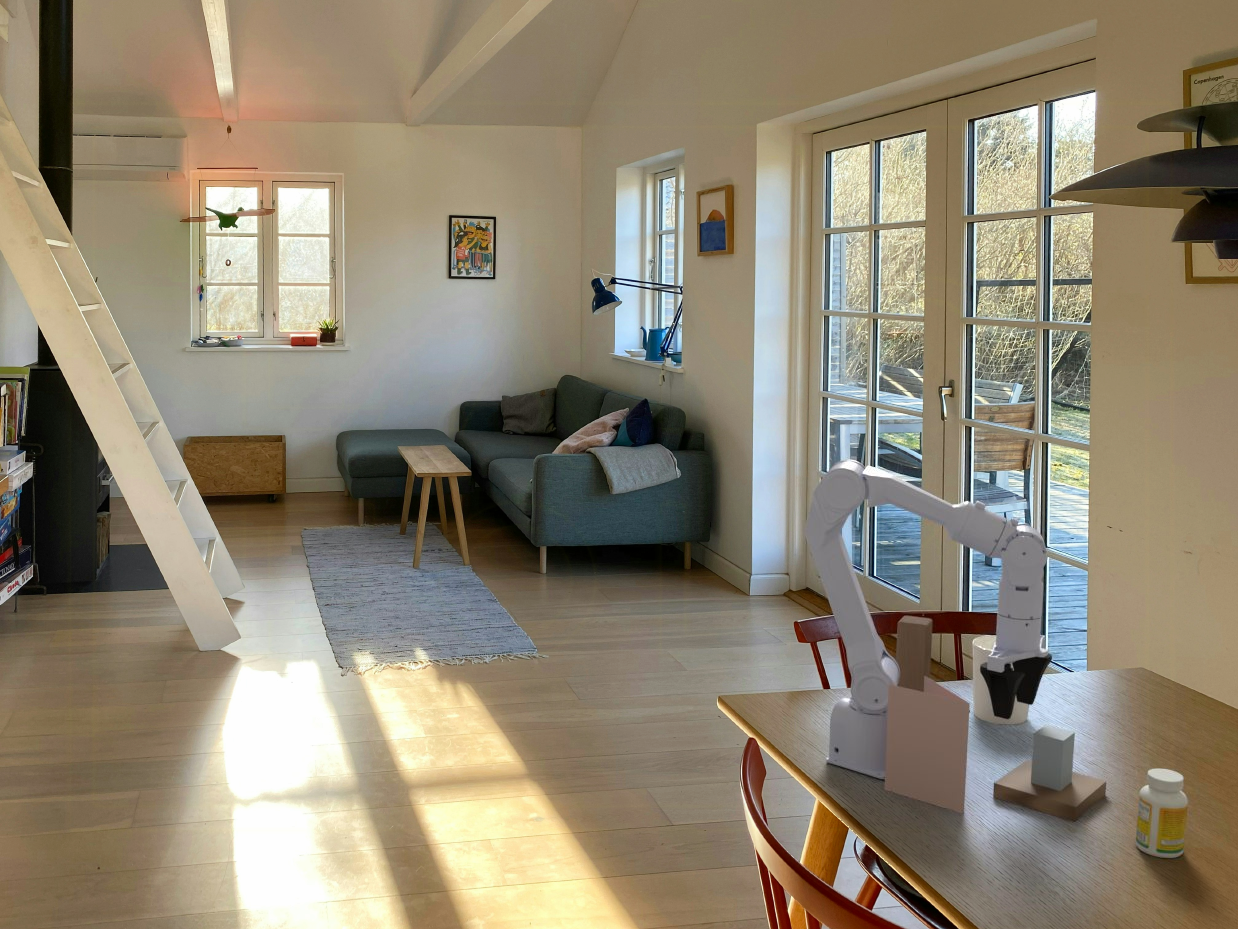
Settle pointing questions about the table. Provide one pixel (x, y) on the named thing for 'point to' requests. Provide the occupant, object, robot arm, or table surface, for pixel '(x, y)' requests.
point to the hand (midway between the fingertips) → (1013, 709)
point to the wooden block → (914, 651)
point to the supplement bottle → (1162, 814)
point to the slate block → (1052, 757)
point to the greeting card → (927, 745)
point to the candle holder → (980, 689)
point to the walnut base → (1050, 793)
